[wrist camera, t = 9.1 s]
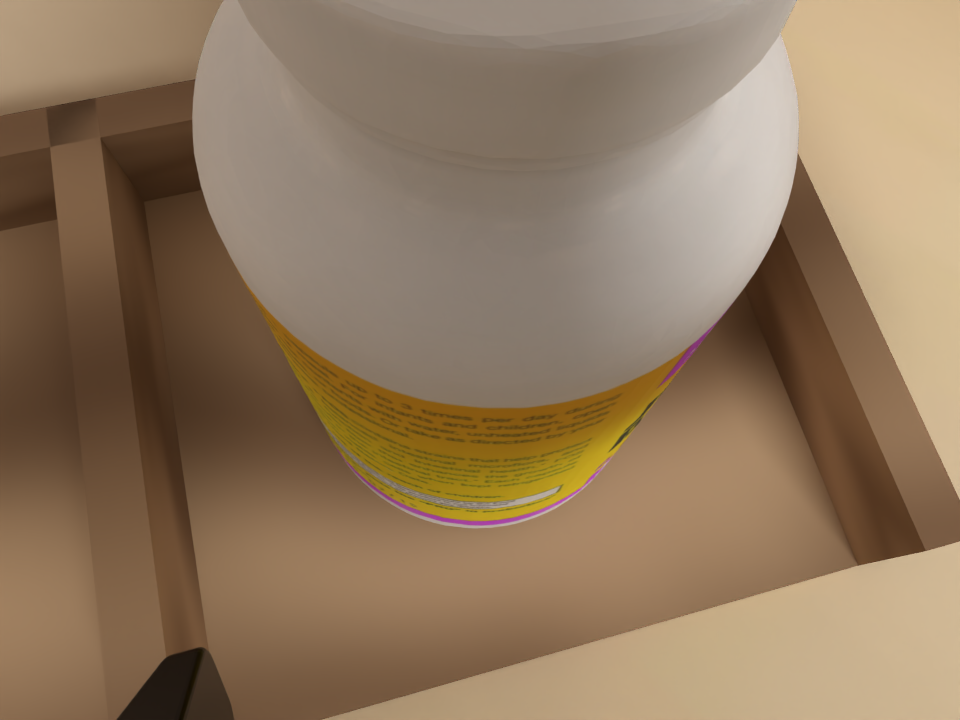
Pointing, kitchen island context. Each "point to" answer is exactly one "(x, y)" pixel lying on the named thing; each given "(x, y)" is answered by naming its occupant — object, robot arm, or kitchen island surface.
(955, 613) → the kitchen island surface
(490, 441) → the supplement bottle
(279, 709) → the walnut caddy
